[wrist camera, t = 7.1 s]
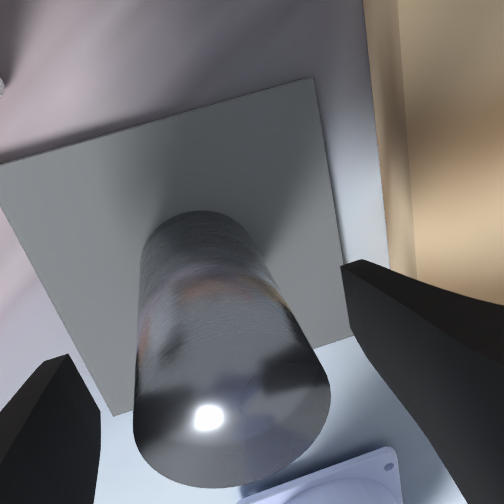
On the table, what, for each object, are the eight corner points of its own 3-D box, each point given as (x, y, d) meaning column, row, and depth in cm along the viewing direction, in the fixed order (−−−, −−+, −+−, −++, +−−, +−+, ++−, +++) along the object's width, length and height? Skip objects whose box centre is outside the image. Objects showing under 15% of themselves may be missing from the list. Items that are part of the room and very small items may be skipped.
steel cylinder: (267, 295, 16) (343, 449, 10) (162, 329, 16) (171, 512, 9) (241, 195, 14) (312, 305, 8) (121, 231, 14) (99, 376, 8)
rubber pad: (350, 329, 18) (354, 335, 18) (113, 409, 17) (113, 416, 17) (309, 77, 14) (313, 77, 13) (-14, 167, 13) (-19, 170, 12)
